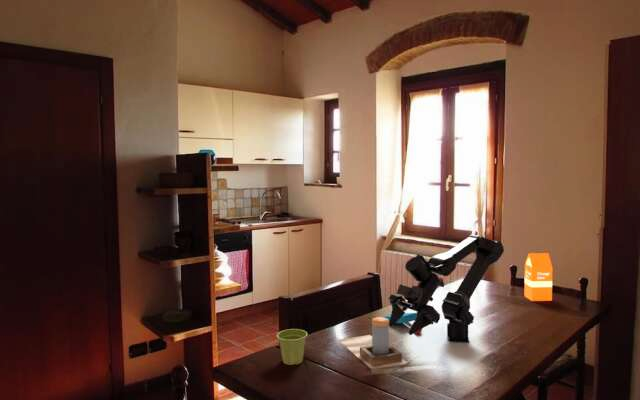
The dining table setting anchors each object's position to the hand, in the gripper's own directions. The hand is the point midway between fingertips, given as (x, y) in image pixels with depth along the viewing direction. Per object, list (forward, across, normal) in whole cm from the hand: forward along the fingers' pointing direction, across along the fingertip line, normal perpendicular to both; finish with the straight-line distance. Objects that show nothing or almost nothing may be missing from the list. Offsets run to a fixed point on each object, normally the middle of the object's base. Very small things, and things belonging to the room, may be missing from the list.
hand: (399, 329), depth 151 cm
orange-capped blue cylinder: (+10, 0, 0) cm, 11 cm away
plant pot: (+27, -15, -15) cm, 35 cm away
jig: (+10, -6, +1) cm, 12 cm away
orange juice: (-58, -14, +72) cm, 93 cm away
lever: (-7, -20, +20) cm, 29 cm away
